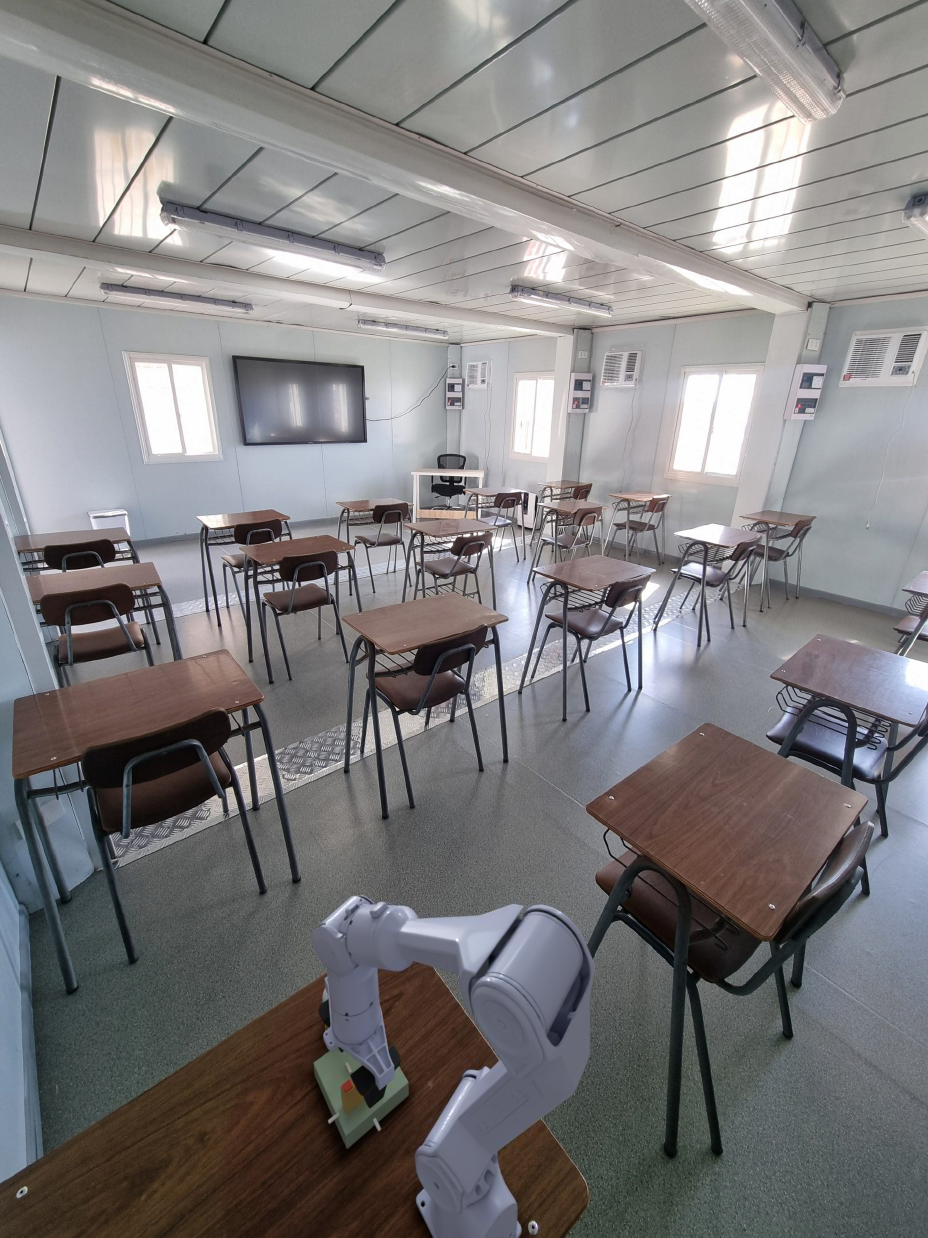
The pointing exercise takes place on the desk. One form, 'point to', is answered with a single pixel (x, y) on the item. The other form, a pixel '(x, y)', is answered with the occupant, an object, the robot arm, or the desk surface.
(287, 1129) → the desk surface
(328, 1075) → the lock plate
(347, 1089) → the block
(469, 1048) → the desk surface
